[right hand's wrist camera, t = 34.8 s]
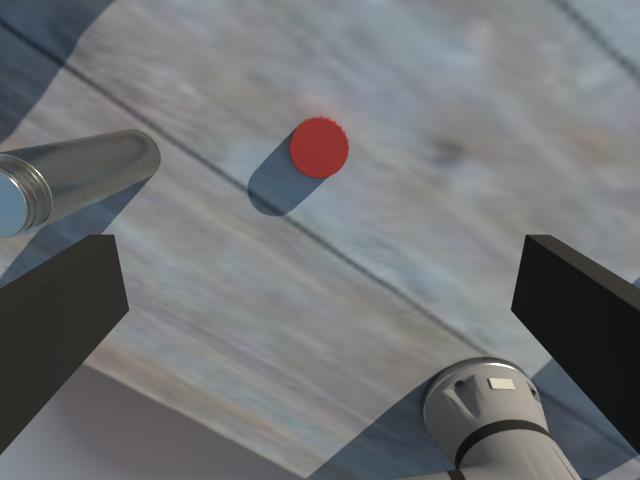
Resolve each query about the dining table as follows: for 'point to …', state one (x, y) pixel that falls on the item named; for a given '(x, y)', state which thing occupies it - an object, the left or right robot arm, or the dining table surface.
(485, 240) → the dining table surface
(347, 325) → the dining table surface
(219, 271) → the dining table surface
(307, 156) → the lid
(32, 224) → the jar
